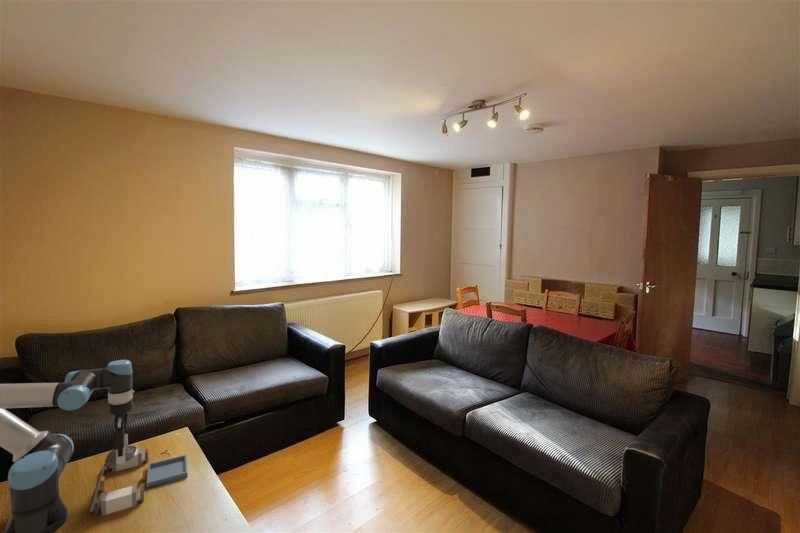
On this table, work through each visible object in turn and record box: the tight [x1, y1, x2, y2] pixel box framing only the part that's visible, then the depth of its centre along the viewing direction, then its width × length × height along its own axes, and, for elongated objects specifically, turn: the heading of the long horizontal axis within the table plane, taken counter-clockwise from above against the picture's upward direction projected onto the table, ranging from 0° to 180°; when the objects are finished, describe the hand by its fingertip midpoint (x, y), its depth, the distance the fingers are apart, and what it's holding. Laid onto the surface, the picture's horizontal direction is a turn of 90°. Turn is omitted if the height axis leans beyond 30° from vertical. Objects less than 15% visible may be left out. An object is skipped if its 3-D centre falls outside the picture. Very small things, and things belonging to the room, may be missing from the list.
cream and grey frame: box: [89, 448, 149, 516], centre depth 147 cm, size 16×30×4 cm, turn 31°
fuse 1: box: [111, 446, 144, 473], centre depth 159 cm, size 10×5×5 cm, turn 121°
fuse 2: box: [100, 483, 139, 517], centre depth 136 cm, size 10×5×5 cm, turn 121°
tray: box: [146, 454, 189, 489], centre depth 155 cm, size 14×14×2 cm
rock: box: [103, 445, 137, 468], centre depth 146 cm, size 9×11×4 cm
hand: (122, 456), depth 146 cm, fingers closed on rock, 9 cm apart
